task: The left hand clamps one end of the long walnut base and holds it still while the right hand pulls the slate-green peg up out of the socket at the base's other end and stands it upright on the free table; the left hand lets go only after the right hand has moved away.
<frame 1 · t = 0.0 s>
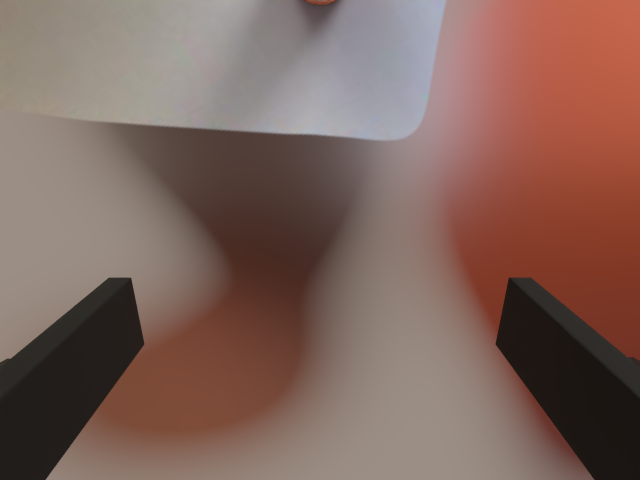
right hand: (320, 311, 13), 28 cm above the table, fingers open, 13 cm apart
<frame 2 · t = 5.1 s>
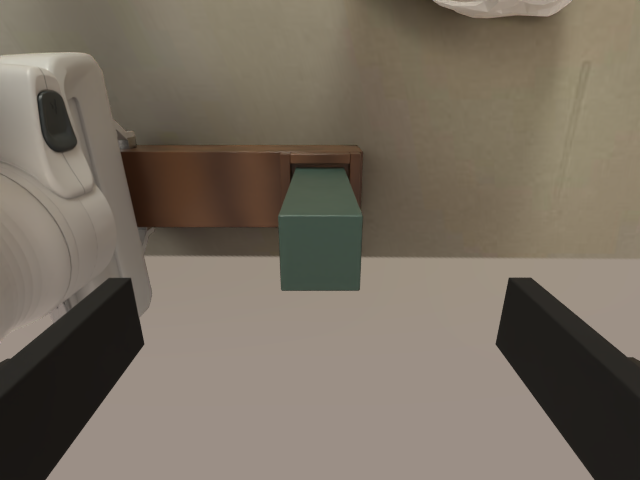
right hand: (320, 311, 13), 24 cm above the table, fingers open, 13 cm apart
peg: (320, 190, 31), point 5 cm above the table, touching walnut base
walnut base: (232, 179, 36), on the table, touching left hand, peg
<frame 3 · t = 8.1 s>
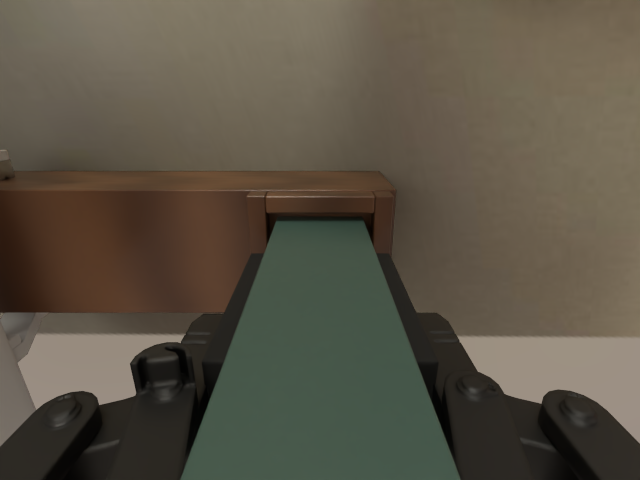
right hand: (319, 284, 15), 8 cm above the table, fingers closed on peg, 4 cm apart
peg: (319, 255, 18), point 5 cm above the table, touching right hand, walnut base
walnut base: (182, 223, 23), on the table, touching left hand, peg
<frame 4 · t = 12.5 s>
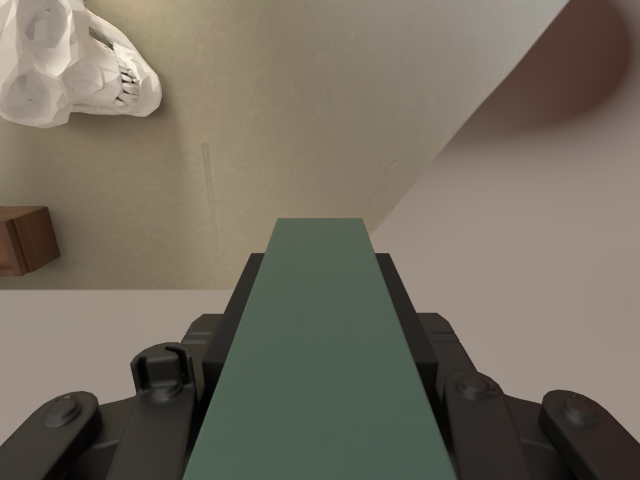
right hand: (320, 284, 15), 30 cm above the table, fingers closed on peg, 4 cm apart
peg: (319, 257, 18), point 26 cm above the table, touching right hand
skull: (67, 53, 39), on the table
when the right hand's fingers open (5 cm above the table, at t = 17.6 s): peg drops 1 cm, on the table.
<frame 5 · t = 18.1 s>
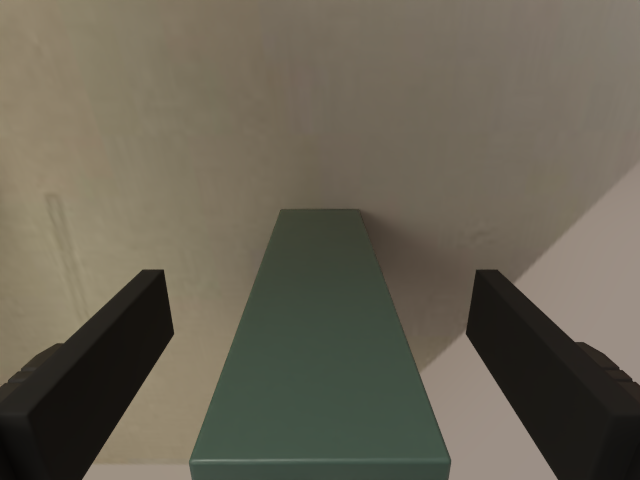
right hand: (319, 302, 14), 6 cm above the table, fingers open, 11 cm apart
peg: (319, 245, 19), on the table
when the left hand's fingers open (2 cm above the table, at t = 20.3 s): walnut base stays where it is, on the table.
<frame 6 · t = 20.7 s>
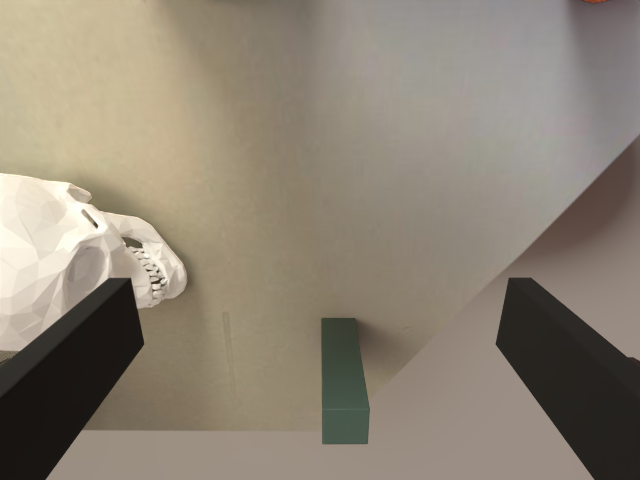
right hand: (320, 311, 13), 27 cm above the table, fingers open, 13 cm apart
peg: (337, 332, 45), on the table
skull: (97, 238, 40), on the table
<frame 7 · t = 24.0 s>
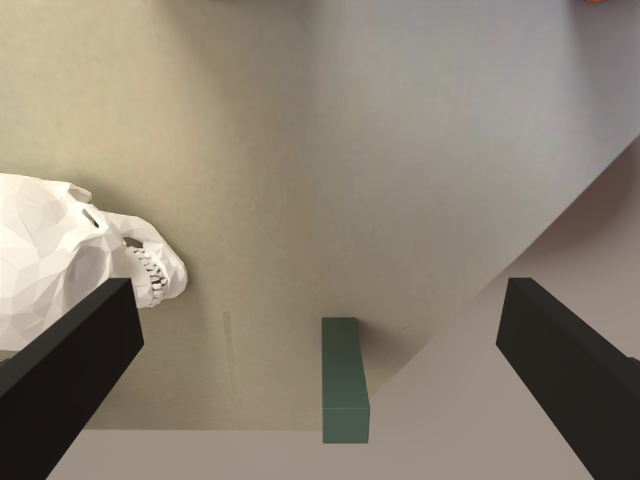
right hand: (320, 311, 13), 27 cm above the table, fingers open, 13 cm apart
peg: (338, 331, 45), on the table
skull: (97, 238, 40), on the table
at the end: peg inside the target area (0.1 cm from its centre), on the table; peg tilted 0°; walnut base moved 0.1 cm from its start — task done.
